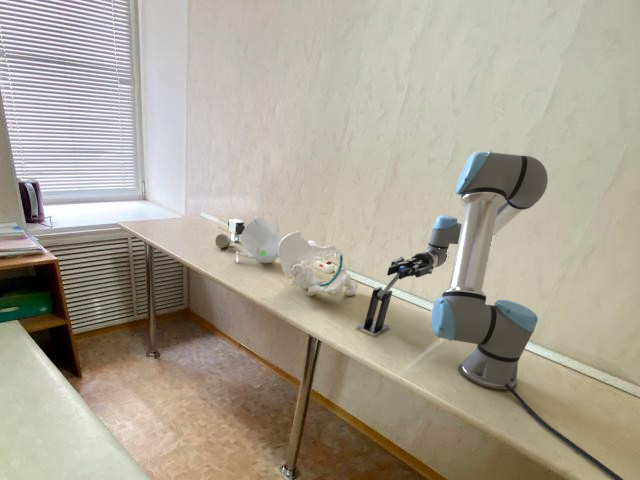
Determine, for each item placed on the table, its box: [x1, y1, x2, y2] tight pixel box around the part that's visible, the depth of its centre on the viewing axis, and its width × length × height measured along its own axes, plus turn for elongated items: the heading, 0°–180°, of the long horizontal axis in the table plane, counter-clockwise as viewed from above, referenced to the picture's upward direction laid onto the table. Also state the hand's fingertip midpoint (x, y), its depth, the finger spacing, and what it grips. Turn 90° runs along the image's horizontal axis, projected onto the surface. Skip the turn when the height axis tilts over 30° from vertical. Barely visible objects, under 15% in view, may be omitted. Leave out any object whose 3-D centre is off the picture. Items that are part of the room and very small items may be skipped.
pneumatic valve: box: [227, 218, 246, 243], centre depth 225 cm, size 6×12×12 cm, turn 30°
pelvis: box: [278, 230, 359, 297], centre depth 170 cm, size 35×23×30 cm
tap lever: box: [377, 266, 407, 302], centre depth 144 cm, size 16×4×4 cm
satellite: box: [235, 212, 286, 264], centre depth 198 cm, size 23×20×25 cm
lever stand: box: [357, 286, 393, 335], centre depth 145 cm, size 10×7×15 cm
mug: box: [214, 233, 232, 249], centre depth 216 cm, size 8×10×10 cm
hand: (394, 273), depth 142 cm, fingers closed on tap lever, 4 cm apart
